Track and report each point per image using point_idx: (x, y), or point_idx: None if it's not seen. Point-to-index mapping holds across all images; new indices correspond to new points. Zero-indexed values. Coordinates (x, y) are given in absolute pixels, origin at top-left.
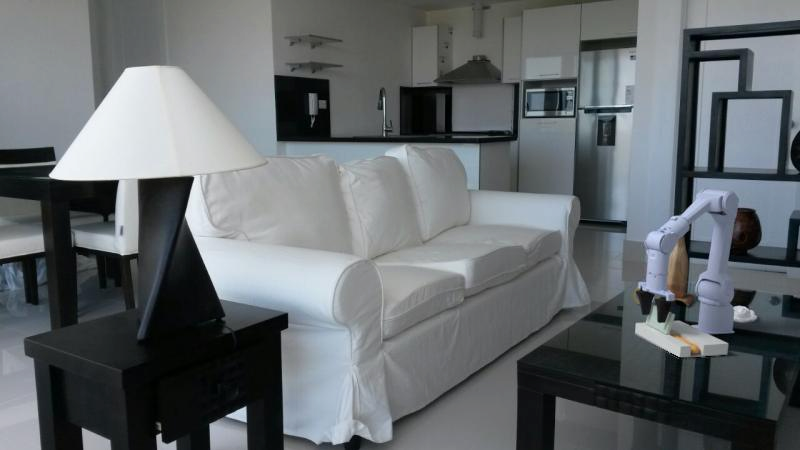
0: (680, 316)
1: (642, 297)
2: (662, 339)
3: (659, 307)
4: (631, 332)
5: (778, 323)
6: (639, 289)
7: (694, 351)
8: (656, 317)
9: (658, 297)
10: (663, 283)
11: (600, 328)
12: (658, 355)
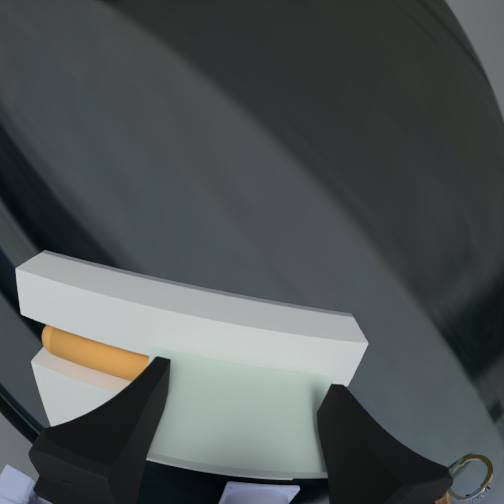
0: None
1: (374, 472)
2: (130, 294)
3: (89, 417)
4: (373, 315)
5: None
6: (484, 480)
7: (46, 325)
8: (263, 416)
9: (446, 493)
10: None
11: (466, 227)
12: (89, 199)
